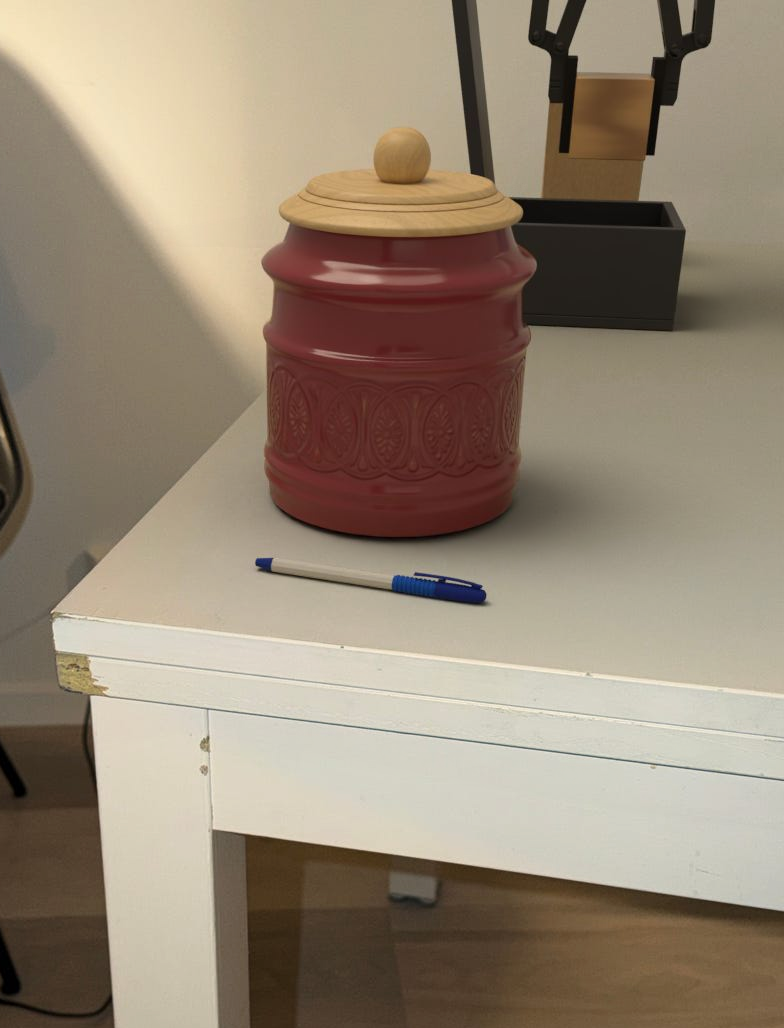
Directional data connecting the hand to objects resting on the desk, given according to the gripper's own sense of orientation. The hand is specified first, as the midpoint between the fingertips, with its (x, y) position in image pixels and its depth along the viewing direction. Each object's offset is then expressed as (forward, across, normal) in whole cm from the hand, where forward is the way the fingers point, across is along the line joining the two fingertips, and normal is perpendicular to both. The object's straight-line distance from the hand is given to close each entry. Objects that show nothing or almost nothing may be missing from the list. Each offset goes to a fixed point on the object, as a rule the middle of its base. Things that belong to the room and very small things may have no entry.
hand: (605, 151), depth 98 cm
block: (0, 0, 0) cm, 0 cm away
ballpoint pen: (+12, -11, -54) cm, 57 cm away
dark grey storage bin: (+12, -1, 0) cm, 12 cm away
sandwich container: (+12, 0, +24) cm, 27 cm away
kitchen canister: (+12, -11, -43) cm, 46 cm away
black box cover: (-4, -10, 0) cm, 10 cm away
